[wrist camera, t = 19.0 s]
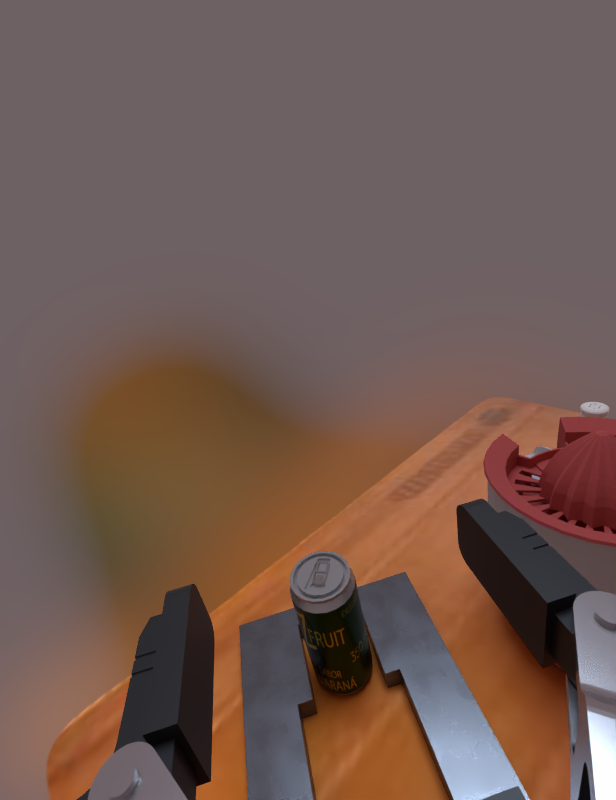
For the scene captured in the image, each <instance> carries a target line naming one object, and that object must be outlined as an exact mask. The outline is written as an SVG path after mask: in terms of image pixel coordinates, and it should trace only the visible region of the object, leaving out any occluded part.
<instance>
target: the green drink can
mask: <svg viewBox="0 0 616 800" xmlns="http://www.w3.org/2000/svg"><path fill="white" fill-rule="evenodd" d="M290 584H291V585H290V593H291V598H292V601H293V604H294V608H295V611H296V614H297V617H298V620H299V623H300V627H301V630H302V633H303V636H304V639H305V643H306V646H307V649H308V652H309V655H310V658H311V662H312V665H313V668H314V671H315V674H316V677H317V679H318V681H319V682H320V684H321V685H322V686H323V687H324V688H325V689H327V690H328V691H330V692H332V693H334V694H337V695H350V694H353V693H356V692H357V691H359V690H360V689H361V688H362V687H363V686H364V685H365V683H366V681H367V680H368V678H369V677H370V674H371V670H372V655H371V650H370V645H369V641H368V636H367V631H366V627H365V622H364V618H363V613H362V608H361V604H360V599H359V594H358V590H357V585H356V580H355V576H354V574H353V572H352V569H351V568H350V567H349V565H348V563H347V561H346V560H345V559H344V558H343V557H342V556H341V555H339V554H337V553H335V552H329V551H319V552H315V553H312V554H309V555H307V556H305V557H304V558H302V559H301V560H300V561H299V562H298V563H297V564H296V565H295V566H294V568H293V570H292V572H291V577H290Z"/></svg>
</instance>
